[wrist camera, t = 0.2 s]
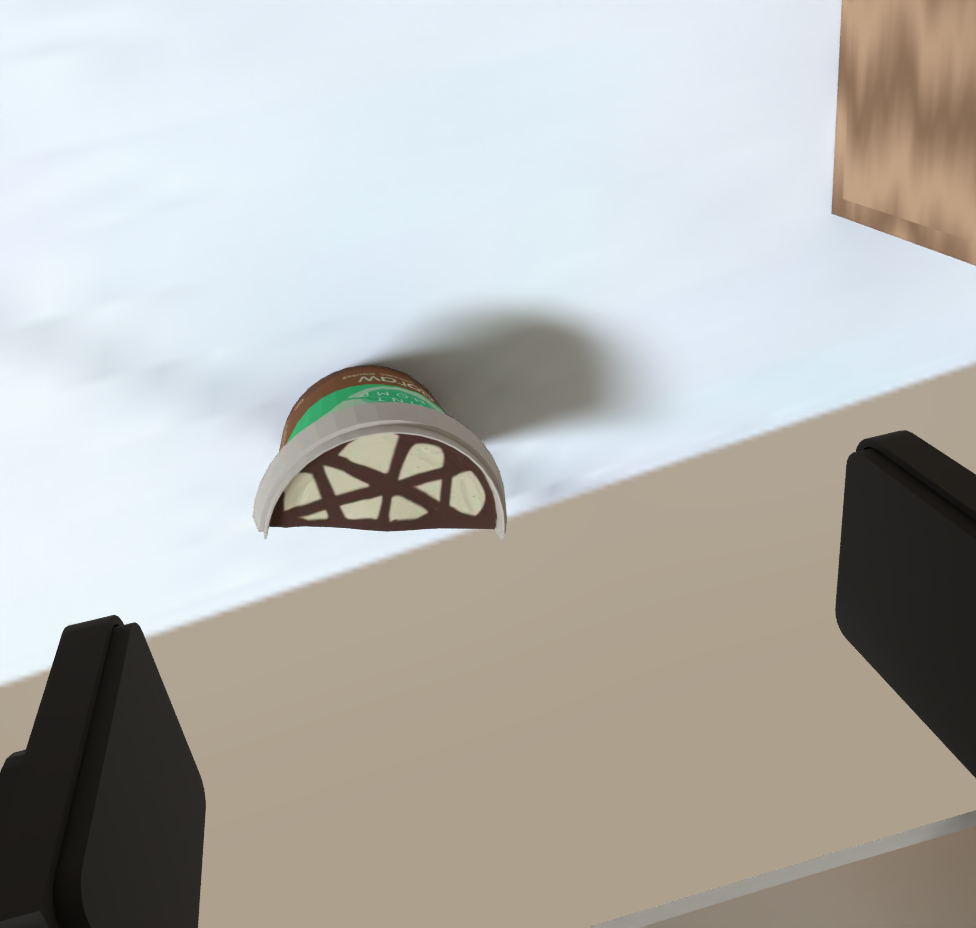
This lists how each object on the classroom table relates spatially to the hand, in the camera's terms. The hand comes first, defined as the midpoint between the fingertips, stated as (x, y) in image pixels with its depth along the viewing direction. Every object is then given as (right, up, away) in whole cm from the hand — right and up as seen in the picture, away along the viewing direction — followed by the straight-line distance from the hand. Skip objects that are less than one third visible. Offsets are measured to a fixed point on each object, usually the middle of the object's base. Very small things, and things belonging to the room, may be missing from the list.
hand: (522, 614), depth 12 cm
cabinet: (+25, +23, +37) cm, 50 cm away
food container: (-7, +6, +38) cm, 39 cm away
